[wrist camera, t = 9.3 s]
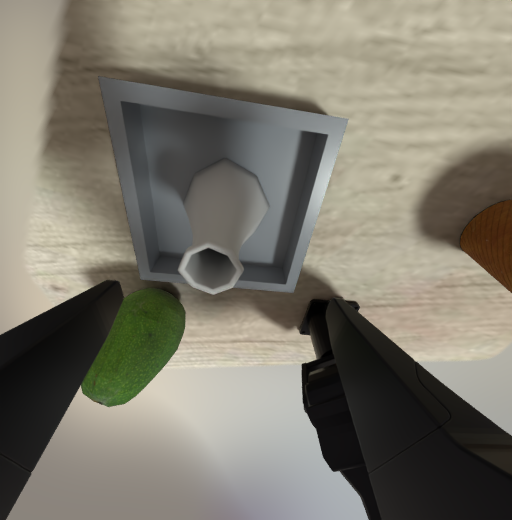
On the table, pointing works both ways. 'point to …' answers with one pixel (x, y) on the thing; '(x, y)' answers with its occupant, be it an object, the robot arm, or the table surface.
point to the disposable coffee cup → (491, 241)
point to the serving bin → (207, 153)
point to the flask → (220, 224)
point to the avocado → (135, 347)
